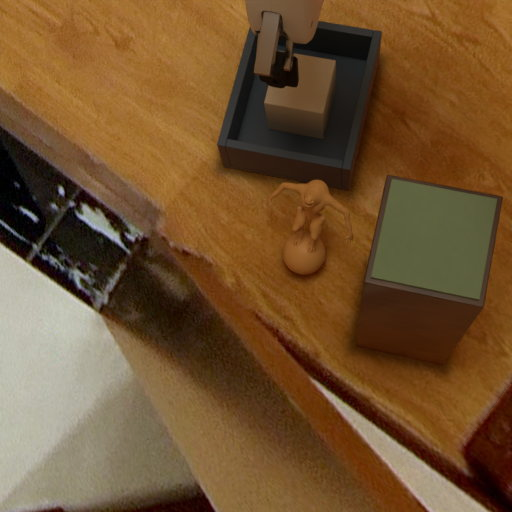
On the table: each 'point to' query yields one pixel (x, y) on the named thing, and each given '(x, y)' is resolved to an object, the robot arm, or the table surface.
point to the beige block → (304, 99)
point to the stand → (417, 304)
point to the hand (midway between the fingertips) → (292, 30)
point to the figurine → (305, 243)
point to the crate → (294, 145)
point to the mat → (434, 239)
